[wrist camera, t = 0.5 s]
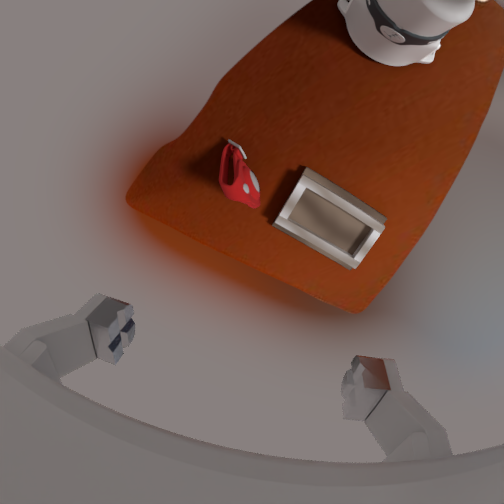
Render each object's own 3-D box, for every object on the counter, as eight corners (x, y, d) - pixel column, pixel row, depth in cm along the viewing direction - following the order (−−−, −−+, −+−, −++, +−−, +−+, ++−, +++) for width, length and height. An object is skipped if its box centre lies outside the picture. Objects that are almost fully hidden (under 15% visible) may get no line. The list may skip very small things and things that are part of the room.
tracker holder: (269, 197, 51) (261, 213, 42) (246, 206, 52) (234, 223, 43) (241, 134, 47) (227, 136, 38) (218, 144, 49) (200, 149, 40)
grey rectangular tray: (306, 166, 48) (306, 168, 45) (385, 216, 49) (389, 221, 46) (272, 223, 53) (271, 228, 50) (349, 267, 54) (351, 274, 52)
